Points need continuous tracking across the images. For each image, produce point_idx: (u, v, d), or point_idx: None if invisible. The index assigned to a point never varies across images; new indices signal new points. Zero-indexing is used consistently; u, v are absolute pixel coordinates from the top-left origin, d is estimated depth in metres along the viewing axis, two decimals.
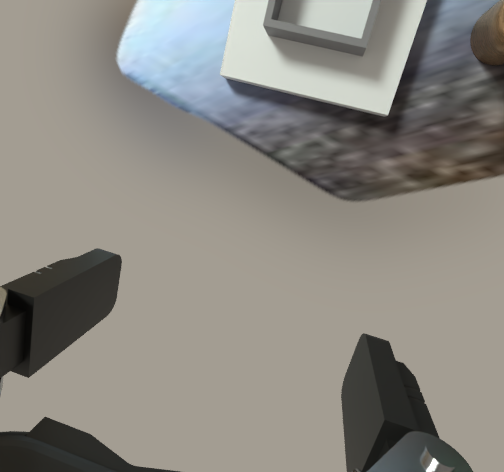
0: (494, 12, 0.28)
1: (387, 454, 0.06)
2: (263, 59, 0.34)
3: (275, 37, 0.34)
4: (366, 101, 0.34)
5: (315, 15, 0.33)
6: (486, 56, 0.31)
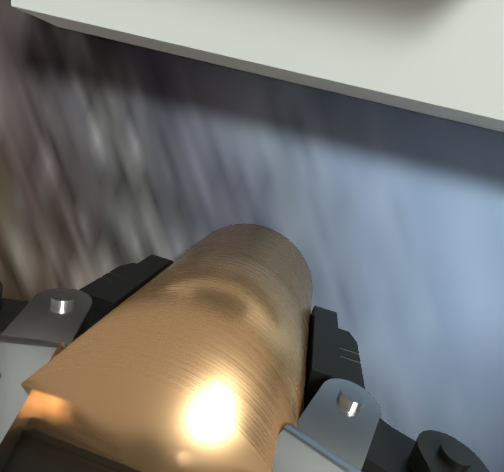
0: (236, 263, 0.09)
1: (310, 404, 0.07)
2: None
3: None
4: None
5: None
6: None
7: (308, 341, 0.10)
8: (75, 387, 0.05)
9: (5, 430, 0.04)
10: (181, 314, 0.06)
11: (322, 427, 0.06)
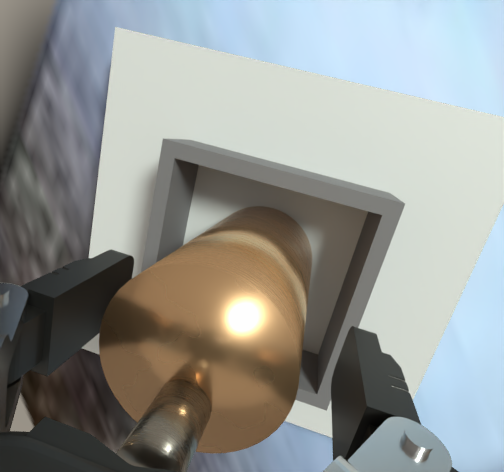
0: (255, 226, 0.12)
1: (368, 440, 0.06)
2: (147, 131, 0.17)
3: None
4: None
5: None
6: None
7: None
8: (169, 275, 0.08)
9: None
10: (225, 246, 0.09)
11: None
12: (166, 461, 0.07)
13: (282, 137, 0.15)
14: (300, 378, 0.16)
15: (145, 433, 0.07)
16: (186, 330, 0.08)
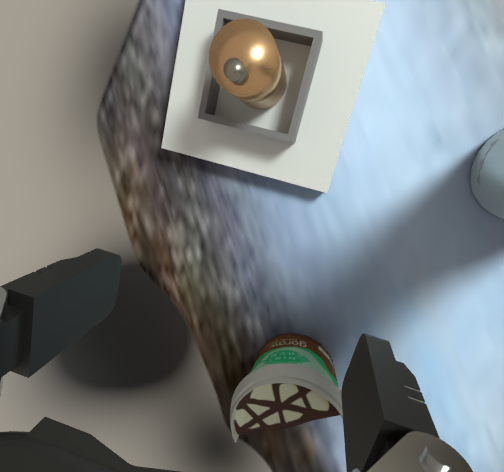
0: None
1: (387, 454, 0.06)
2: (205, 17, 0.33)
3: None
4: (171, 127, 0.37)
5: None
6: None
7: (283, 69, 0.30)
8: (233, 24, 0.25)
9: None
10: None
11: None
12: (239, 61, 0.23)
13: (271, 16, 0.32)
14: None
15: (232, 58, 0.24)
16: (240, 44, 0.25)
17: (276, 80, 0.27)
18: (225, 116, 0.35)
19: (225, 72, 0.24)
